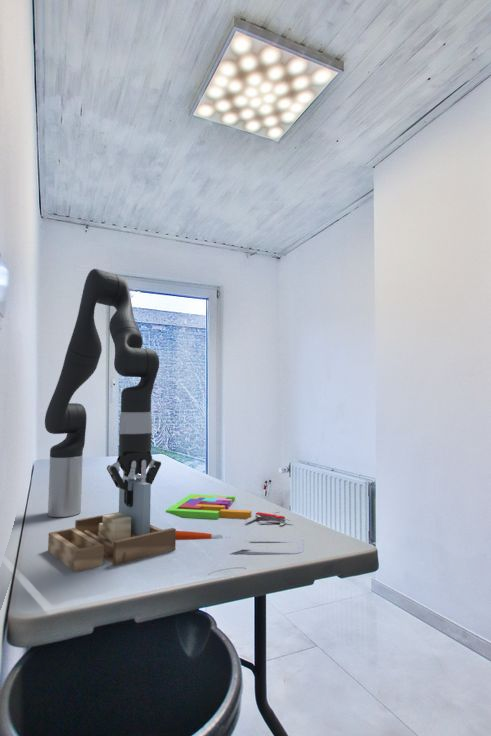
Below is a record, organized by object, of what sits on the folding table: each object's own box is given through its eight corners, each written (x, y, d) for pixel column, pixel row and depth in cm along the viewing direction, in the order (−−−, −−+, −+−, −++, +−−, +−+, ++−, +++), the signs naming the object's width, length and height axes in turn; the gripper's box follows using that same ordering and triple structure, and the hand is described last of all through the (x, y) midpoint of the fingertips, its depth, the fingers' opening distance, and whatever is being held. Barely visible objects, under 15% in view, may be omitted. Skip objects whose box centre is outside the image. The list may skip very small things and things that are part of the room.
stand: (44, 556, 94) (45, 533, 94) (76, 549, 98) (77, 527, 99) (71, 579, 82) (72, 552, 82) (106, 569, 86) (107, 544, 87)
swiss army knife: (302, 520, 124) (302, 513, 124) (279, 531, 112) (279, 523, 112) (267, 514, 130) (267, 507, 130) (243, 524, 118) (243, 517, 119)
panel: (118, 536, 104) (119, 477, 105) (125, 534, 105) (126, 476, 106) (142, 549, 95) (143, 484, 96) (149, 547, 96) (150, 483, 97)
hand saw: (302, 533, 106) (310, 547, 96) (302, 546, 106) (309, 562, 96) (170, 528, 105) (164, 543, 95) (169, 541, 105) (163, 557, 95)
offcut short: (102, 525, 98) (102, 515, 98) (118, 522, 101) (119, 512, 101) (113, 531, 94) (114, 520, 94) (130, 527, 96) (131, 517, 96)
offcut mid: (98, 533, 99) (98, 523, 100) (114, 529, 102) (115, 520, 102) (113, 541, 93) (113, 531, 94) (130, 537, 96) (130, 527, 96)
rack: (74, 544, 102) (75, 520, 102) (129, 532, 111) (129, 510, 112) (115, 571, 86) (116, 542, 86) (175, 554, 95) (175, 528, 95)
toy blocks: (165, 517, 127) (248, 522, 122) (165, 510, 127) (248, 514, 122) (190, 500, 149) (261, 504, 144) (190, 494, 149) (261, 497, 144)
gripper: (153, 429, 110) (152, 498, 108) (101, 431, 100) (99, 507, 99) (168, 430, 104) (167, 503, 103) (115, 433, 95) (113, 513, 93)
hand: (134, 505), depth 101 cm, fingers closed on panel, 2 cm apart
